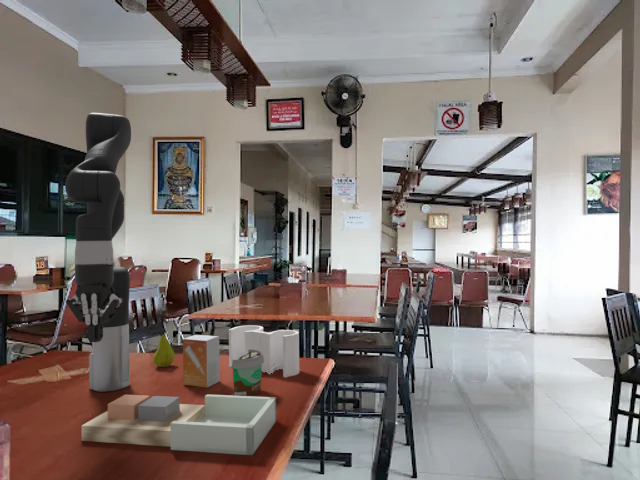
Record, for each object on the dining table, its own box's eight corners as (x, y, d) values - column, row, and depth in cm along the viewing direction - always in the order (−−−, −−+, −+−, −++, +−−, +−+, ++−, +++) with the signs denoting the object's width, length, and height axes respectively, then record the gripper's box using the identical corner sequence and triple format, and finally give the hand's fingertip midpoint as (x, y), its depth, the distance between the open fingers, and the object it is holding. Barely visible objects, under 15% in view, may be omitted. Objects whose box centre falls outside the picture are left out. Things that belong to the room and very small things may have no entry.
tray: (170, 449, 84) (170, 423, 84) (207, 416, 100) (207, 394, 100) (252, 455, 81) (252, 428, 81) (276, 420, 97) (276, 397, 97)
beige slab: (81, 440, 88) (81, 425, 88) (124, 414, 102) (124, 401, 102) (174, 446, 85) (173, 431, 85) (205, 418, 99) (204, 405, 99)
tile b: (138, 420, 91) (138, 405, 91) (154, 409, 97) (154, 395, 97) (165, 421, 90) (165, 407, 90) (179, 410, 95) (179, 397, 96)
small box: (182, 385, 123) (182, 338, 123) (196, 378, 129) (196, 334, 129) (207, 388, 120) (206, 340, 120) (220, 381, 126) (219, 335, 126)
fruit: (169, 363, 147) (169, 327, 147) (177, 366, 142) (177, 329, 143) (150, 366, 143) (150, 329, 143) (158, 370, 138) (157, 332, 138)
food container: (255, 401, 109) (254, 361, 109) (232, 400, 110) (231, 360, 110) (270, 386, 121) (270, 349, 121) (249, 385, 122) (249, 348, 122)
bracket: (306, 370, 135) (305, 331, 136) (286, 379, 127) (285, 337, 128) (247, 359, 150) (247, 324, 150) (226, 366, 142) (225, 328, 142)
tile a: (107, 418, 92) (107, 404, 92) (125, 408, 98) (125, 394, 98) (134, 420, 91) (133, 405, 91) (150, 409, 97) (149, 395, 97)
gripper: (54, 263, 94) (55, 344, 93) (110, 262, 91) (111, 346, 91) (79, 261, 101) (80, 337, 101) (132, 261, 99) (133, 338, 98)
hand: (95, 341), depth 96 cm, fingers closed
